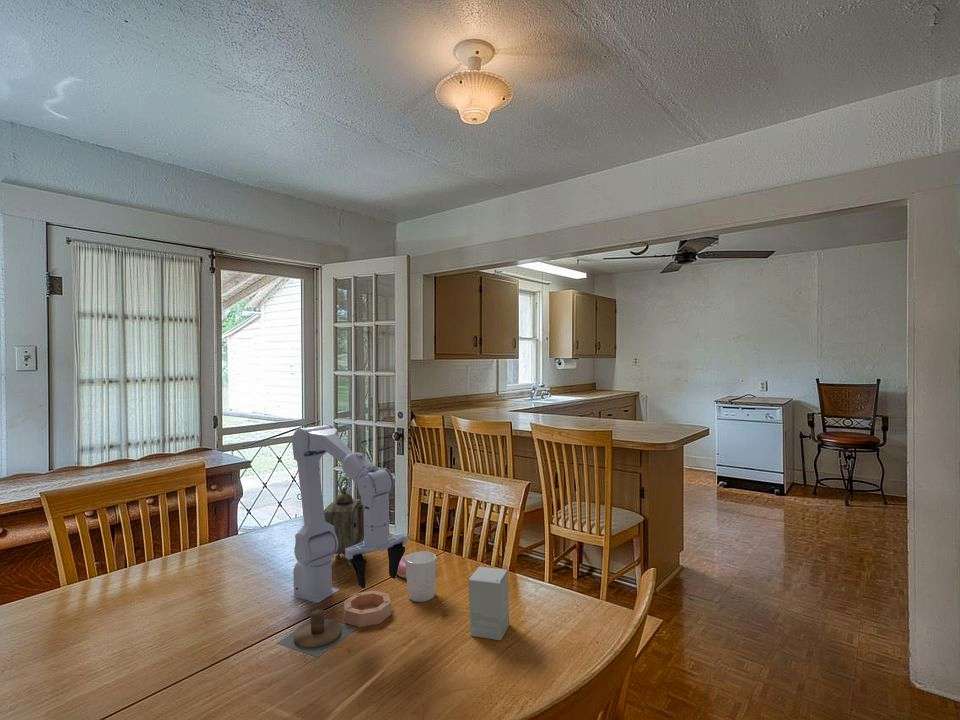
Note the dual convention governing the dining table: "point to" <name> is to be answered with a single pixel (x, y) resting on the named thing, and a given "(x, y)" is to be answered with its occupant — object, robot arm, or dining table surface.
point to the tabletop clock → (346, 520)
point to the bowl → (367, 608)
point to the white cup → (421, 575)
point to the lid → (317, 631)
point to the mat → (317, 652)
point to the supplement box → (489, 603)
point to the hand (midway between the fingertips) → (377, 581)
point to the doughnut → (402, 567)
